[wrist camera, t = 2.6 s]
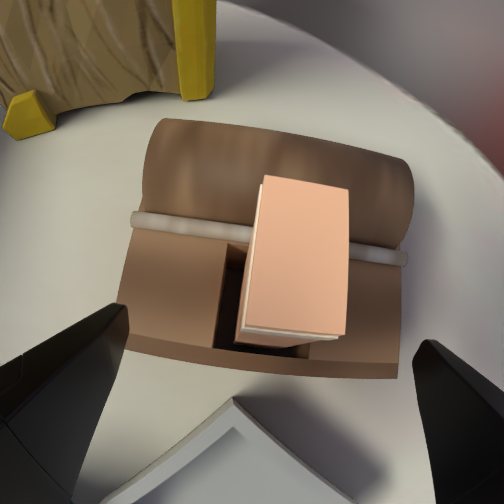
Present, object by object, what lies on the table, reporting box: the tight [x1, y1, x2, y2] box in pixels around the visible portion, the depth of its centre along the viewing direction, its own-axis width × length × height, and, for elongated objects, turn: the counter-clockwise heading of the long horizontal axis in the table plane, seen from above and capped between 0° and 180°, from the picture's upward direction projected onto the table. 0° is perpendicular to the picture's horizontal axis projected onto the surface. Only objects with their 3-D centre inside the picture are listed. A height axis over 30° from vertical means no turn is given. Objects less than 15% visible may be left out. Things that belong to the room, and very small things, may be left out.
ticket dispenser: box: [116, 118, 414, 379], centre depth 16 cm, size 12×14×7 cm
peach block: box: [233, 175, 349, 349], centre depth 13 cm, size 4×2×11 cm, turn 173°
